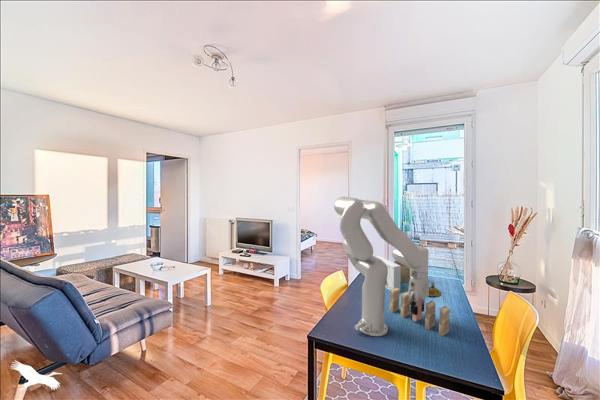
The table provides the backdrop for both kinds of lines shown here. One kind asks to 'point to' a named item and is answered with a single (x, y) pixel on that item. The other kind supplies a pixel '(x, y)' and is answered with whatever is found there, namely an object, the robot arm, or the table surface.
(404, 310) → the tile
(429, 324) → the tile
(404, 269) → the planter bowl
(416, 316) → the tile
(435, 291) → the seal
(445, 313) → the tile
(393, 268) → the skincare box
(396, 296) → the head tile
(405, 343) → the table surface
